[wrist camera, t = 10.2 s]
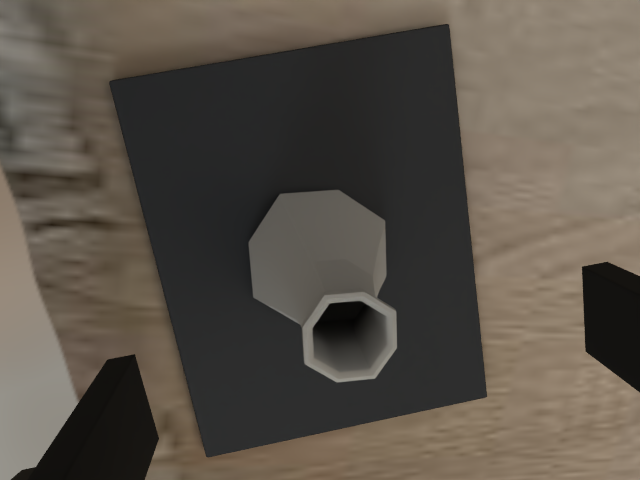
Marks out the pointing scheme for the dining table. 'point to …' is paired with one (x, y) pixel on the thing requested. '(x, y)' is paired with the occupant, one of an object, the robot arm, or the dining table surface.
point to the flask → (327, 280)
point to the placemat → (307, 176)
